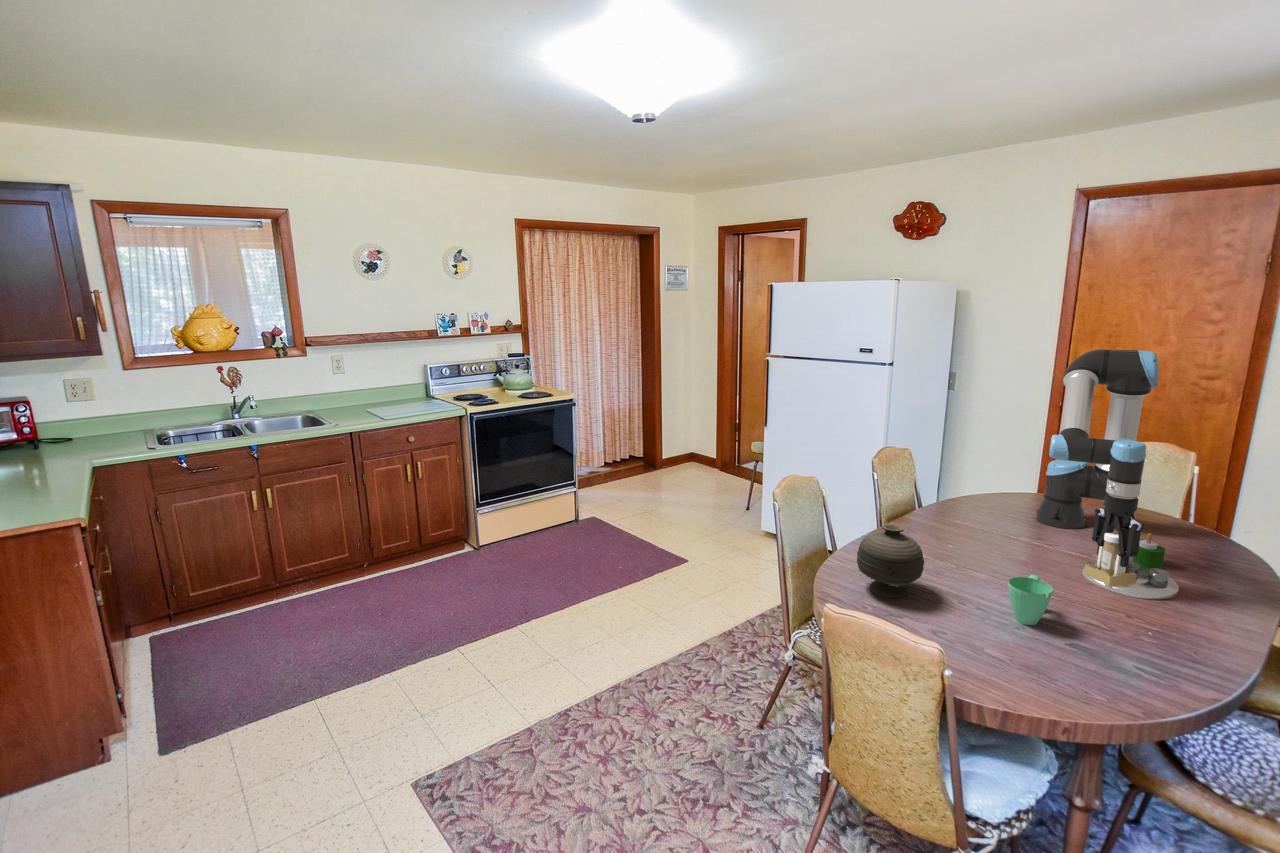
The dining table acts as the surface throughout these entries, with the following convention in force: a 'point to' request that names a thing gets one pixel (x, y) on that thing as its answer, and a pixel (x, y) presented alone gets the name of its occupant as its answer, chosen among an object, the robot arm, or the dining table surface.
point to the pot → (890, 561)
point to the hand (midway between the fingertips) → (1110, 571)
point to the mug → (1029, 598)
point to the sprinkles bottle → (1110, 552)
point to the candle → (1149, 554)
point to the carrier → (1133, 581)
